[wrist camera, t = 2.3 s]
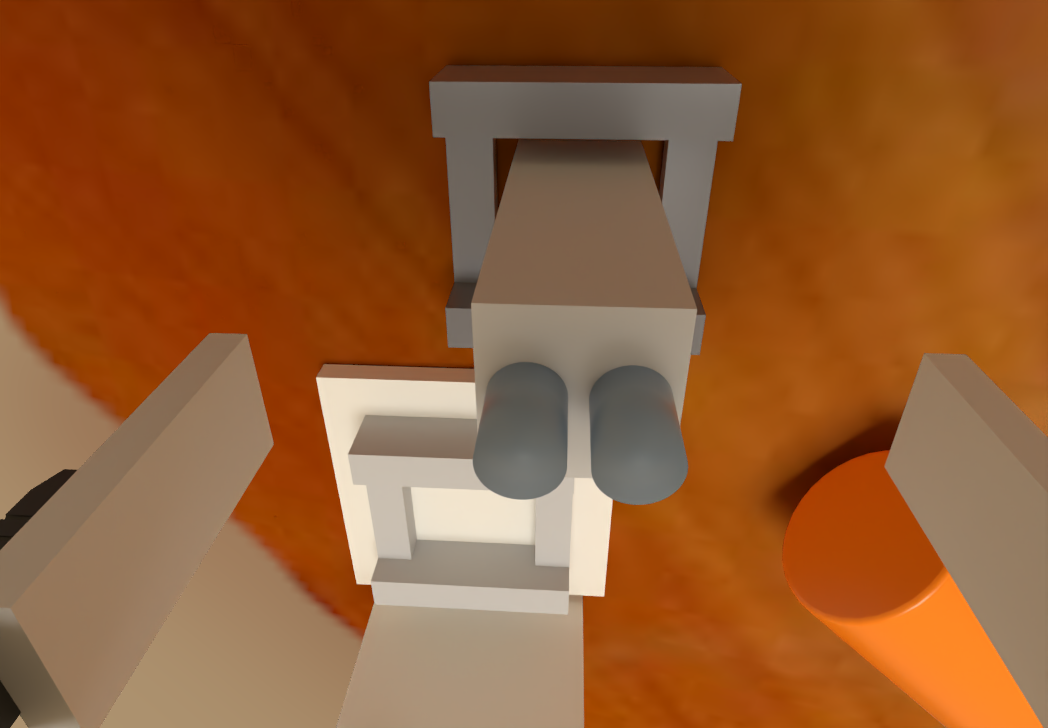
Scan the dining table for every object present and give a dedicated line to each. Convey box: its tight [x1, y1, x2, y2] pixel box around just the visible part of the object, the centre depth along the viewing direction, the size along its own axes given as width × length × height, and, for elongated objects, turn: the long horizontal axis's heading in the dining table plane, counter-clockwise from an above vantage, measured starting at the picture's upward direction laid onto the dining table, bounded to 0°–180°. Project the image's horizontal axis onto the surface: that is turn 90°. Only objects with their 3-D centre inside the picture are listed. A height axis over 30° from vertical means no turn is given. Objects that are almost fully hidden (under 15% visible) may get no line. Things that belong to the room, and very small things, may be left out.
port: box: [316, 364, 613, 728], centre depth 26 cm, size 14×12×12 cm
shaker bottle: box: [782, 450, 1043, 728], centre depth 27 cm, size 9×9×20 cm
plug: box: [471, 139, 697, 505], centre depth 17 cm, size 4×4×14 cm
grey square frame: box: [429, 65, 742, 355], centre depth 22 cm, size 8×8×3 cm
